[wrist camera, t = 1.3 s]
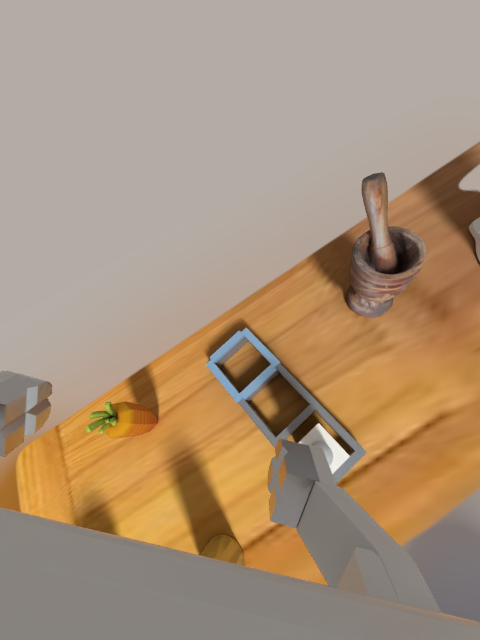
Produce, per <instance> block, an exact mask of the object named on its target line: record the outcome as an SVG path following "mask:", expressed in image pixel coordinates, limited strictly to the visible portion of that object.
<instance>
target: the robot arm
mask: <svg viewBox="0 0 480 640" xmlns="http://www.w3.org/2000/svg"><path fill="white" fill-rule="evenodd" d="M469 230H470V232H471V234H472V236H473V237H474V239H475V241H476V253H477V257H478V259H479V261H480V217H479V218H478V219H476V220H475V221H473V222H472V223H471V224H470V225H469ZM51 394H52V384H51V383H50V382H48V381H43V380H40V379H36V378H32V377H29V376H25V375H20V374H17V373H13V372H9V371H2V372H0V456H3V457H5V456H6V455H8V454H9V453H10V452H11V451H12V450H14V449H15V448H16V447H17V446H19V445H20V444H21V443H23V441H24V437H25V436H26V435H29V434H32V433H35V432H36V431H37V430H39V429H40V428H41V427H42V426H43V424H44V423H45V422H46V420H47V419H48V417H49V414H50V410H51V404H50V402H49V401H48V399H47V398H48V397H49V396H50V395H51ZM275 451H276V456H275V457H274V458H272V460H271V463H270V466H269V472H268V490H269V491H270V493H271V496H270V499H269V511H270V521H272V522H275V523H279V524H282V525H286V526H290V527H293V528H297V531H298V533H299V535H300V537H301V538H302V540H303V542H304V544H305V545H306V547H307V549H308V550H309V552H310V554H311V556H312V557H313V559H314V561H315V563H316V564H317V566H318V568H319V570H320V571H321V573H322V575H323V576H324V578H325V580H326V582H327V583H328V585H329V586H326V585H322V584H318V583H314V582H310V581H305V580H301V579H297V578H293V577H289V576H285V575H280V574H276V573H272V572H268V571H263V570H259V569H255V568H251V567H247V566H242V565H238V564H234V563H230V562H226V561H221V560H217V559H213V558H209V557H205V556H201V555H197V554H192V553H188V552H184V551H180V550H176V549H172V548H167V547H163V546H159V545H155V544H151V543H147V542H143V541H138V540H134V539H130V538H126V537H122V536H118V535H113V534H109V533H105V532H101V531H97V530H92V529H88V528H84V527H80V526H76V525H72V524H67V523H63V522H59V521H55V520H51V519H46V518H42V517H38V516H34V515H30V514H25V513H21V512H17V511H13V510H9V509H4V508H0V640H480V622H477V621H473V620H468V619H464V618H460V617H456V616H452V615H448V614H443V613H441V611H440V609H439V607H438V605H437V603H436V602H435V600H434V598H433V596H432V594H431V592H430V590H429V588H428V586H427V585H426V583H425V581H424V579H423V577H422V575H421V573H420V571H419V570H418V568H417V566H416V564H415V562H414V560H413V559H412V558H411V557H410V556H409V555H408V554H407V553H406V552H405V551H404V550H403V549H402V548H401V547H400V546H399V545H398V544H397V543H396V542H395V541H394V540H393V539H392V538H391V537H390V536H389V535H388V534H387V533H386V532H385V531H384V530H383V529H382V528H381V527H380V526H379V525H378V524H377V523H376V522H375V521H374V520H373V519H372V518H371V517H370V516H369V515H368V513H367V512H366V511H365V510H364V509H363V508H362V507H361V506H360V505H359V504H358V503H357V502H356V501H355V500H354V499H353V498H352V497H351V496H350V495H349V494H348V493H347V492H346V491H345V490H344V489H343V488H342V487H338V486H337V485H336V482H335V480H334V477H333V475H332V472H331V469H330V467H329V464H328V461H327V459H326V456H325V453H324V451H323V449H322V448H320V447H316V446H311V445H304V444H300V443H296V442H292V441H287V440H283V439H279V440H278V442H277V444H276V447H275Z"/></svg>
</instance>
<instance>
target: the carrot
mask: <svg viewBox="0 0 480 640" xmlns="http://www.w3.org/2000/svg"><path fill="white" fill-rule="evenodd" d="M105 409H106V411H97V412H92V413H91V415H90V419H93V418H98V417H103V418H102V419H99V420H97V421H95V422H93V423H91V424H90V425H88V426H87V427H86V428H85V429H86V431H87V432H88V433H89V432H90V431H92V430H94V429H95V428H97V427H98V426H100V425H102V428H101V429H100V430H99V434H101V433H102V432H103V431H104V432H105V433H106V434H107V435H108V436H109V437H110V438H123V437H131V436H136V435H141V434H144V433H147V432H149V431H151V430H152V429H153V428H154V427H155V426H156V424H157V423H158V419H157V417H156V416H155V415H154V414H153V413H152V412H151V411H150V410H149V409H147V408H145V407H143V406H142V405H138V404H135V403H130V402H121V403H116V404H112V405H111V402H106V403H105Z"/></svg>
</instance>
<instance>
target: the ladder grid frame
mask: <svg viewBox="0 0 480 640" xmlns="http://www.w3.org/2000/svg"><path fill="white" fill-rule="evenodd" d="M248 341H249V342H250V343H251V344H252V345H253V346H254V348H255V349H256V350H257V351H258V352H259V353H260V354H261V355H262V356H263V357H264V358H265V359H266V360H267V361H268V362H269V363H270V364H271V365H270V366H268V367H267V368H266V369H265V370H264V371H263V372H262V373H261V374H260V375H259V376H258V377H257V378H256V379H255V380H253V381H252V382H251V383H250V384H249V385H248V386H247V387H246V388H245V389H244V390H243V391H242V392H241V393H240V391H239V390H238V389H237V388H236V387H235V385H234V384H233V383H232V382H231V380H230V379H229V378H228V377H227V376H226V374H225V373H224V372H223V371H222V370H221V368H220V367H221V366H222V365H223V364H224V363H225V362H226V361H227V360H228V359H229V358H231V357H232V356H233V355H234V354H235V353H236V352H237V351H238V350H239V349H240V348H241V347H243V346H244V345H245V344H246V343H247V342H248ZM210 359H211V360H210V361H209V362H207V364H206V365H207V367H208V368H209V369H210V370H211V372H212V373H213V374H214V375H215V376H216V378H217V379H218V380H219V381H220V383H221V384H222V385H223V386H224V388H225V389H226V390H227V391H228V393H229V394H230V395H231V396H232V398H233V399H234V400H235V401H236V403H239V404H240V406H241V407H242V408H243V409H244V411H245V412H246V413H247V414H248V415H249V417H250V418H251V419H252V420H253V422H254V423H255V424H256V425H257V427H258V428H259V429H260V430H261V432H262V433H263V434H264V435H265V437H266V438H267V439H268V440H269V442H270V443H271V444H272V445H273V446H274V448H275V447H276V444H277V442H278V440H279V439H283V440H286V439H287V438H288V437H289V436H290V435H291V434H292V433H293V432H294V431H295V430H296V429H297V428H298V427H299V426H300V425H301V424H302V423H303V422H304V421H305V420H306V419H307V418H308V417H309V416H310V415H311V414H312V413H313V412H314V411H316V413H317V414H318V415H319V416H320V417H321V418H322V419H323V420H324V421H325V422H326V423H327V424H328V425H329V426H330V427H331V428H332V429H333V430H334V431H335V432H336V433H337V435H338V436H339V437H340V438H341V439H342V440H343V441H344V442H345V443H346V444H347V445H348V446H349V447H350V448H351V449H352V450H351V451H350V452H349V453H348V455H349V456H350V457H349V458H348V459H347V460H346V461H345V462H344V463H343V464H342V465H341V466H340V467H339V468H338V469H337V470H336V471H335V472H334V473H333V474H332V475H333V477H334V480H335V482H336V483H337V482H338V481H339V480H340V479H341V478H342V477H343V476H344V475H345V474H346V473H347V472H348V471H349V470H350V469H351V468H352V467H353V466H354V465H355V464H356V463H357V462H358V461H359V460H360V458H361V457H362V456H363V455H364V454H365V453H366V451H365V450H364V449H363V448H362V447H361V446H360V445H359V444H358V443H357V442H356V441H355V440H354V438H353V437H352V436H351V435H350V434H349V433H348V432H347V431H346V430H345V429H344V428H343V427H342V426H341V425H340V424H339V423H338V422H337V421H336V420H335V419H334V418H333V417H332V416H331V415H330V414H329V413H328V412H327V411H326V410H325V409H324V408H323V407H322V406H321V405H320V404H319V403H318V402H317V401H316V400H315V399H314V398H313V397H312V396H311V395H310V394H309V392H308V391H307V390H306V389H305V388H304V387H303V386H302V385H301V384H300V383H299V382H298V381H297V380H296V379H295V378H294V377H293V376H292V375H291V374H290V373H289V372H288V371H287V370H286V369H285V368H284V367H283V366H282V365H281V364H280V361H279V360H278V359H277V358H276V357H275V356H274V355H273V354H272V353H271V352H270V351H269V350H268V349H267V348H266V347H265V346H264V345H263V344H262V343H261V342H260V341H259V340H258V339H257V338H256V337H255V336H254V335H253V334H252V333H251V332H250V331H249V330H248V329H247V328H245V329H244V330H243V331H242V332H240V330H239V331H238V332H237V333H236V334H235V335H234V336H232V337H231V338H230V339H229V340H228V341H227V342H226V343H225V344H224V345H223V346H221V347H220V348H219V349H218V350H217V351H216V352H215V353H214V354H213V355H211V356H210ZM278 374H280V375H281V376H282V377H283V378H284V379H285V380H286V381H287V382H288V383H289V384H290V385H291V386H292V387H293V388H294V389H295V390H296V392H297V393H298V394H299V395H300V396H301V397H302V398H303V399H304V400H305V401H306V402H307V403H308V404H309V406H308V407H307V408H306V409H305V410H304V411H303V412H302V413H301V414H300V415H299V416H297V417H296V418H295V419H294V420H293V421H292V422H291V423H290V424H289V425H288V426H287V427H286V428H285V429H284V430H283V431H282V432H281V433H280V434H279V435H278V436H276V435H275V434H274V432H273V431H272V430H271V429H270V428H269V426H268V425H267V424H266V423H265V421H264V420H263V419H262V418H261V417H260V415H259V414H258V413H257V412H256V411H255V409H254V408H253V407H252V406H251V405H250V403H249V401H250V400H251V399H252V398H253V397H254V396H255V395H256V394H258V393H259V392H260V391H261V390H262V389H263V388H264V387H265V386H266V385H267V384H268V383H269V382H270V381H271V380H272V379H273V378H275V377H276V376H277V375H278Z"/></svg>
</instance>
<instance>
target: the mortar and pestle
mask: <svg viewBox="0 0 480 640" xmlns="http://www.w3.org/2000/svg"><path fill="white" fill-rule="evenodd" d="M362 197H363V201H364V205H365V210H366V213H367V217H368V220H369V226H370V230H369V231H367V232H366V233H364V234H363V235H362V236H361V237H359V238H358V240H357V241H356V243H355V246H354V249H353V253H352V261H351V265H350V279H351V283H352V285H351V286H350V287H349V289H348V291H347V296H346V300H347V304H348V306H349V307H350V308H351V309H352V310H353V311H354V312H356V313H357V314H359V315H362V316H365V317H371V318H376V317H377V316H380V315H382V314H384V313H385V312H387V311H388V310H389V309H390V307H391V306H392V302H393V297H395V296H397V295H399V294H400V293H401V292H403V291H404V290H405V289H406V288H407V287H408V286H409V285H410V283H411V282H412V281H413V279H414V278H415V276H416V275H417V274H418V272H419V271H420V269H421V268H422V266H423V264H424V262H425V260H426V258H427V249H426V246H425V244H424V242H423V240H422V239H421V238H420V237H419V236H418V235H416V234H415V233H414V232H411V231H410V230H408V229H404V228H400V227H395V226H393V227H388V218H387V212H388V190H387V182H386V178H385V174H384V173H377V174H372V175H370V176H368V177H366V178H364V179H363V181H362Z"/></svg>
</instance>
